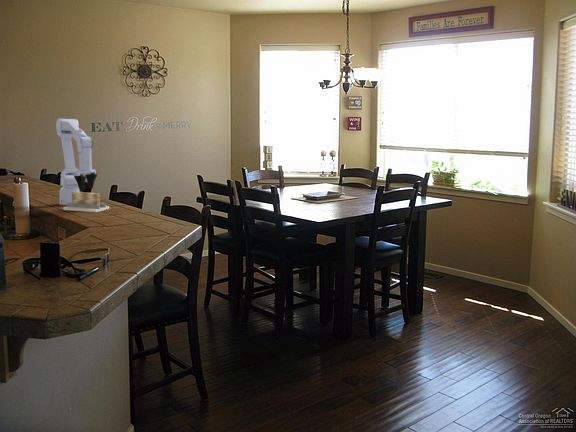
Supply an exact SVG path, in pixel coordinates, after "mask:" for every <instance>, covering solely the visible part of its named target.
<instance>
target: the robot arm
mask: <svg viewBox="0 0 576 432" xmlns="http://www.w3.org/2000/svg"><path fill="white" fill-rule="evenodd" d="M55 129H56V134H57V136H58V137H60V140H61V145H62V153H63V159H64V167H65V169H64V170H62V171H61V173H60V185H61V186H62V187H61V188H60V189H59V203H58V205H61V206H63V205H64V206H67V205H66V203H72V192H81V191H84V190H85V184H86V183H85V181H87V189H93V188H94V184H95V182H96V181H95V180H97V179H96V178H97V177H98V174H96V173H97V172H96V169H93V167H92V157H93V156H92V149H93V148H94V139H93V137H92V136H88V135H87V134H86V133H85V131H84V130H83V128H80V123H79V121H78V119H77V118H57V120H56V124H55ZM72 138H73V139H74V140H75V141H76V146H77V152H78V163H79V169H78V168H77V167H76V164H75V163H76V162H75V156H74V149H73V148H74V147H73V143H72Z"/></svg>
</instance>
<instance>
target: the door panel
mask: <svg viewBox="0 0 576 432" xmlns="http://www.w3.org/2000/svg"><path fill="white" fill-rule="evenodd" d="M100 195H101V193H98V192H97V193H96V192H84V191H83V192H82V191H80V192H72V203H79V204H93V205H100V203H101V199H100V198H101V197H100Z"/></svg>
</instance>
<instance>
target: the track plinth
mask: <svg viewBox="0 0 576 432" xmlns="http://www.w3.org/2000/svg"><path fill="white" fill-rule="evenodd" d="M106 209H107V210H109V209H110V206H109V205H107V203H102V202H100V205H93V204H79V203H66V205H65V206H64V207H62V210H63V211H71V212H72V211H74V212H75V211H76V212H86V213H99V212H103V211H106Z"/></svg>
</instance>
